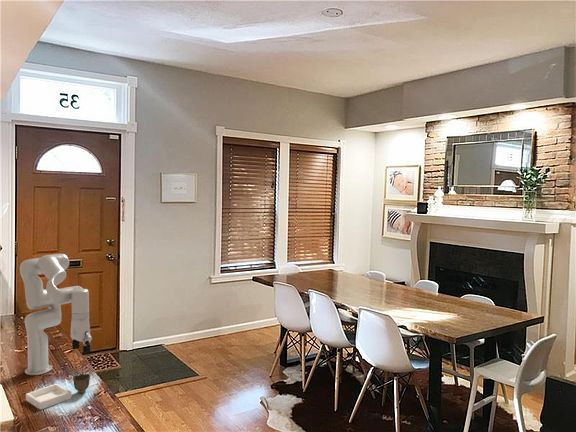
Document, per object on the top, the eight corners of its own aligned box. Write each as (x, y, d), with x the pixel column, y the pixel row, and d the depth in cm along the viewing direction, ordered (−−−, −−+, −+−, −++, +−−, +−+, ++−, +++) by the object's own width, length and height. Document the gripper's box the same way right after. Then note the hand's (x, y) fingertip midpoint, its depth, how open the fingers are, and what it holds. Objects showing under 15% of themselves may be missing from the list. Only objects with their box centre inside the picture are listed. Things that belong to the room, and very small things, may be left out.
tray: (26, 400, 211) (25, 393, 210) (56, 389, 222) (56, 383, 221) (40, 409, 202) (40, 402, 202) (71, 398, 213) (71, 391, 213)
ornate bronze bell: (73, 390, 221) (73, 374, 221) (90, 388, 224) (90, 372, 223) (72, 397, 214) (72, 380, 214) (89, 394, 217) (89, 378, 216)
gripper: (63, 313, 219) (64, 349, 220) (82, 320, 208) (83, 357, 209) (78, 310, 225) (79, 344, 226) (98, 316, 214) (98, 352, 215)
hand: (81, 351), depth 218 cm, fingers open, 9 cm apart
